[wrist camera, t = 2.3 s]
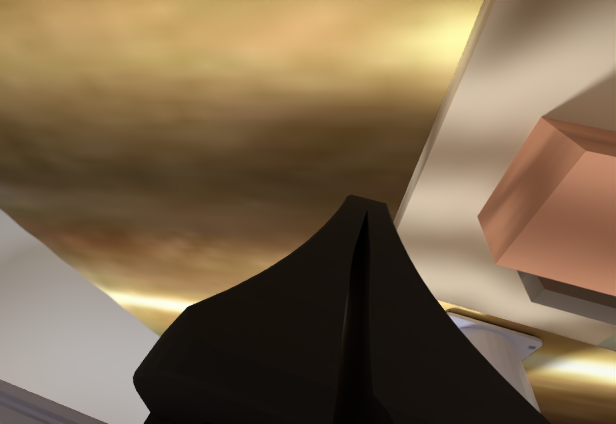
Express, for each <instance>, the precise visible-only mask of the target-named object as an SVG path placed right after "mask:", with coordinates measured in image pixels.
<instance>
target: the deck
mask: <svg viewBox="0 0 616 424" xmlns="http://www.w3.org/2000/svg"><path fill="white" fill-rule="evenodd" d="M541 117H543V118H548V119H553V120H558V121H563V122H569V123H574V124H579V125H584V126H589V127H594V128H599V129H605V130H610V131H615V132H616V0H484V2H483V4H482V7H481V9H480V12H479V14H478V17H477V19H476V22H475V24H474V26H473V29H472V31H471V34H470V36H469V39H468V41H467V44H466V46H465V48H464V51H463V53H462V56H461V58H460V61H459V63H458V66H457V68H456V70H455V73H454V75H453V78H452V80H451V83H450V85H449V88H448V90H447V92H446V95H445V97H444V100H443V102H442V105H441V107H440V110H439V112H438V114H437V117H436V119H435V122H434V124H433V127H432V129H431V132H430V134H429V137H428V139H427V141H426V144H425V146H424V149H423V151H422V154H421V156H420V159H419V161H418V163H417V166H416V168H415V171H414V173H413V176H412V178H411V181H410V183H409V185H408V188H407V190H406V193H405V195H404V198H403V200H402V203H401V205H400V207H399V210H398V212H397V215H396V217H395V220H394V222H393V223H394V225H395V228H396V230H397V232H398V235H399V237H400V239H401V241H402V243H403V245H404V247H405V249H406V251H407V253H408V255H409V257H410V259H411V261H412V262H413V264H414V266H415V268H416V269H417V271H418V273H419V274H420V276H421V278H422V279H423V281H424V282H425V284H426V285H427V287H428V288H429V290H430V291H431V293H432V294H433V296H434V297H435V298H436V300H440V301H443V302H447V303H450V304H454V305H457V306H461V307H464V308H467V309H471V310H474V311H478V312H481V313H485V314H488V315H492V316H495V317H499V318H502V319H505V320H509V321H512V322H516V323H519V324H523V325H526V326H530V327H533V328H537V329H540V330H543V331H547V332H550V333H554V334H557V335H561V336H564V337H568V338H571V339H575V340H578V341H581V342H585V343H588V344H592V345H595V346H599V347H602V348H606V349H609V350H613V351H616V296H613V295H609V294H605V293H602V292H598V291H594V290H590V289H586V288H583V287H579V286H575V285H571V284H568V283H564V282H560V281H556V280H553V279H549V278H545V277H541V276H538V275H534V274H530V273H526V272H522V271H519V270H515V269H511V268H507V267H504V266H500V265H496V264H495V262H494V259H493V257H492V254H491V252H490V249H489V246H488V244H487V241H486V238H485V236H484V233H483V231H482V228H481V225H480V223H479V220H478V217H477V216H478V214H479V213H480V211H481V210H482V208H483V207H484V205H485V204H486V202H487V200H488V199H489V197H490V196H491V194H492V193H493V191H494V189H495V188H496V186H497V185H498V183H499V182H500V180H501V179H502V177H503V175H504V174H505V172H506V171H507V169H508V168H509V166H510V164H511V163H512V161H513V160H514V158H515V157H516V155H517V154H518V152H519V150H520V149H521V147H522V146H523V144H524V143H525V141H526V139H527V138H528V136H529V135H530V133H531V132H532V130H533V129H534V127H535V125H536V124H537V122H538V121H539V119H540V118H541Z"/></svg>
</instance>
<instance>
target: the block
mask: <svg viewBox="0 0 616 424" xmlns="http://www.w3.org/2000/svg"><path fill="white" fill-rule="evenodd" d="M477 217H478V220H479V223H480V225H481V228H482V231H483V233H484V236H485V238H486V241H487V244H488V246H489V249H490V252H491V254H492V257H493V259H494V262H495V264H496V265H500V266H504V267H507V268H511V269H515V270H519V271H522V272H526V273H530V274H534V275H538V276H541V277H545V278H549V279H553V280H556V281H560V282H564V283H568V284H571V285H575V286H579V287H583V288H586V289H590V290H594V291H598V292H602V293H605V294H609V295H613V296H616V132H615V131H610V130H605V129H599V128H594V127H589V126H584V125H579V124H574V123H569V122H563V121H558V120H553V119H548V118H543V117H541V118H540V119H539V121H538V122H537V124H536V125H535V127H534V129H533V130H532V132H531V133H530V135H529V136H528V138H527V139H526V141H525V143H524V144H523V146H522V147H521V149H520V150H519V152H518V154H517V155H516V157H515V158H514V160H513V161H512V163H511V164H510V166H509V168H508V169H507V171H506V172H505V174H504V175H503V177H502V179H501V180H500V182H499V183H498V185H497V186H496V188H495V189H494V191H493V193H492V194H491V196H490V197H489V199H488V200H487V202H486V204H485V205H484V207H483V208H482V210H481V211H480V213H479V214H478V216H477Z"/></svg>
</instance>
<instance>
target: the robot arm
mask: <svg viewBox="0 0 616 424" xmlns="http://www.w3.org/2000/svg"><path fill="white" fill-rule="evenodd" d="M542 345H543V344H542V341H541V339H539V338H537V337H533V336H530V335H527V334H523V333H520V332H516V331H513V330H510V329H506V328H503V327H499V326H496V325H493V324H489V323H486V322H482V321H479V320H475V319H472V318H469V317H465V316H462V315H458V314H455V313H452V312H447V313H446V312H445V310H444V309H443V308H442V306H441V305H440V304H439V302H438V301H437V300H436V298H435V297H434V296H433V294H432V293H431V291H430V290H429V288H428V287H427V285H426V284H425V282H424V281H423V279H422V278H421V276H420V274H419V273H418V271H417V269H416V268H415V266H414V264H413V262H412V261H411V259H410V257H409V255H408V253H407V251H406V249H405V247H404V245H403V243H402V241H401V239H400V237H399V235H398V232H397V230H396V228H395V225H394V223H393V220H392V218H391V215H390V212H389V209H388V207H387V205H386V203H382V202H378V201H374V200H370V199H366V198H362V197H358V196H354V195H349V196H347V197H346V199H345V201H344V203H343V204H342V206H341V207H340V208H339V210H338V211H337V212H336V213H335V214H334V215H333V217H332V218H331V219H330V220H329V221H328V222H327V223H326V224H325V225H324V226H323V227H322V228H321V229H320V230H319V231H318V232H317V233H316V234H314V235H313V236H312V237H311V238H310V239H309V240H308V241H306V242H305V243H304V244H303V245H301V246H300V247H299V248H298V249H296V250H295V251H294V252H292V253H291V254H289V255H288V256H286V257H285V258H283V259H282V260H280V261H279V262H277V263H276V264H274V265H273V266H271V267H269V268H268V269H266V270H264V271H263V272H261V273H259V274H257V275H255V276H253V277H251V278H250V279H248V280H246V281H244V282H242V283H240V284H238V285H236V286H234V287H232V288H230V289H228V290H226V291H223V292H221V293H219V294H216V295H214V296H212V297H210V298H207V299H205V300H203V301H200V302H198V303H196V304H193V305H191V306H188V307H187V308H186V309H185V310H184V311H183V312H182V313H181V314H180V315H179V317H178V318H177V319H176V320H175V321H174V322H173V323H172V324H171V325H170V326H169V328H168V329H167V330H166V331H165V332H164V333H163V334H162V336H161V337H160V338H159V340H158V341H157V343H156V344H155V345H154V347H153V348H152V349H151V351H150V352H149V353H148V355H147V356H146V357H145V359H144V360H143V362H142V363H141V364H140V366H139V367H138V368H137V370H136V371H135V373H134V376H133V383H134V386H135V388H136V391H137V392H138V394H139V395H140V397H141V399H142V400H143V402H144V403H145V405H146V406H147V408H148V409H149V411H150V414H149V416H148V417H147V419H146V420H145V422H144V424H551V423H550V422H549V421H548V420H547V419H546V418H545V417H544V416H543V415H542V414H541V413H540V410H539V407H538V405H537V402H536V399H535V396H534V393H533V390H532V388H531V385H530V382H529V379H528V376H527V373H526V371H525V368H524V365H523V362H522V361H523V360H524V359H525V358H527V357H528V356H529V355H531V354H532V353H533V352H535V351H536V350H537V349H538V348H540V347H541V346H542ZM0 424H107V423H105V422H103V421H100V420H98V419H95V418H92V417H90V416H88V415H85V414H83V413H80V412H78V411H76V410H73V409H71V408H68V407H66V406H64V405H61V404H58V403H56V402H54V401H51V400H49V399H46V398H44V397H42V396H39V395H37V394H34V393H32V392H29V391H27V390H25V389H22V388H20V387H17V386H15V385H12V384H10V383H7V382H5V381H2V380H0Z"/></svg>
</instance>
